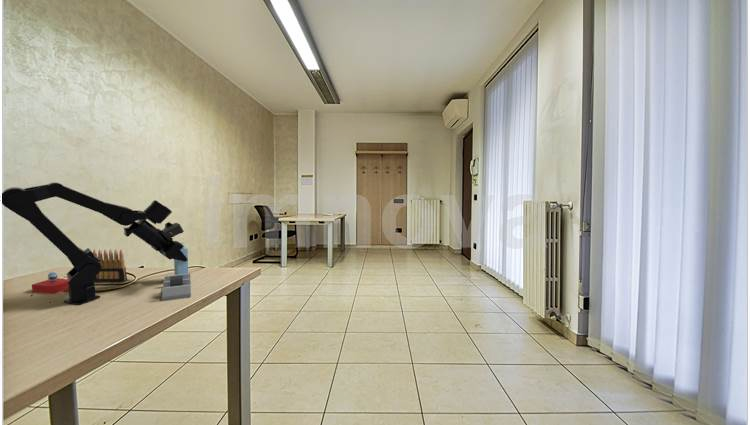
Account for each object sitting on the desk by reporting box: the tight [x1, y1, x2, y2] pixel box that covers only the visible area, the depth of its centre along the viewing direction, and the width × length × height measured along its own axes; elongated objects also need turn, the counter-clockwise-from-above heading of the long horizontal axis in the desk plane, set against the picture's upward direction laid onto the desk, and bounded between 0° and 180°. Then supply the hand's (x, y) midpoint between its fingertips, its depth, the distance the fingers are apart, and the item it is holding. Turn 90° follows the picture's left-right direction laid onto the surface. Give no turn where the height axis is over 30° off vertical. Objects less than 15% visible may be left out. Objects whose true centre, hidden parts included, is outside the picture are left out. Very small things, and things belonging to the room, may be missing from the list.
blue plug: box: [173, 242, 189, 275], centre depth 126 cm, size 4×4×13 cm
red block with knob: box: [31, 271, 69, 295], centre depth 114 cm, size 8×7×6 cm
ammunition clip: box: [92, 249, 128, 283], centre depth 123 cm, size 11×2×12 cm, turn 98°
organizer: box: [161, 272, 192, 302], centre depth 116 cm, size 8×14×6 cm, turn 29°
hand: (185, 259), depth 127 cm, fingers closed on blue plug, 4 cm apart
